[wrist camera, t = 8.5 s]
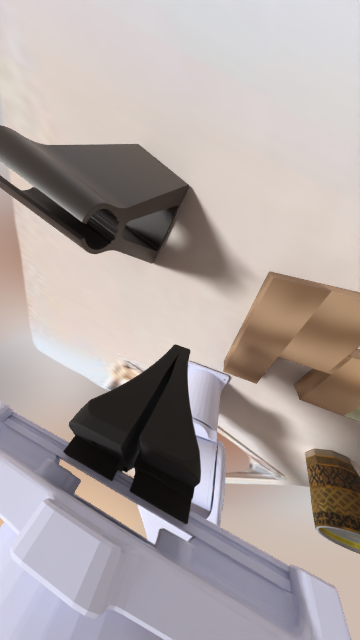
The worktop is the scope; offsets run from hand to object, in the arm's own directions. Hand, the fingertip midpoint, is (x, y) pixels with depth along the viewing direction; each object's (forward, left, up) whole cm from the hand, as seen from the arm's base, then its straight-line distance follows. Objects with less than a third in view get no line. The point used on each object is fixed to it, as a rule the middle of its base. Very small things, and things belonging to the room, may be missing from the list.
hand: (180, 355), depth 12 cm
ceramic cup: (-24, -33, -11) cm, 42 cm away
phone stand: (+9, +9, -11) cm, 17 cm away
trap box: (-2, -16, -10) cm, 19 cm away
